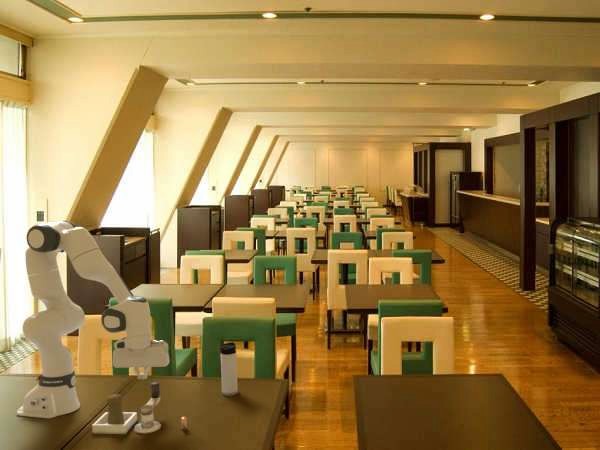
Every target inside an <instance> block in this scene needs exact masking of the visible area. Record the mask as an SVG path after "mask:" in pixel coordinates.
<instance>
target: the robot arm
mask: <svg viewBox="0 0 600 450" xmlns="http://www.w3.org/2000/svg"><path fill="white" fill-rule="evenodd" d="M26 242H27V245H28V246H29V247H28V248H27V249H26V251H25V266H26V267H25V268H26V273H27V278H28V279H27V280H28V283H29V287H30V291H31V295H32V297H33V298H35V299H36V300H39V301H40V302H42V303H43V304H44V307H45V308H46V310H42V311H39V312H35V313H34V314H32V315H30V316H28V317H26V318H25V320H24V321H23V324H22V333H23V336H24V338H25V339H26V340H27V341H28V342H30V343H32V344H34V346H35V347H36V348H37V351H38V353H39V355H40V361H41V362H40V363H41V371H42V373H41V374H39V375H38V377H36V378H35V381H36V382H38V384H37V385H35V386H34V387H33V388H32V389H31V390H30V391H28V392H27V393H26V394H25V395H24V397H23V404H22V405H21V406H20V407H19V408H18V409H17V410H16V416H20V417H21V416H22V417H29V418H30V417H31V418H41V419H53V418H56V417H59V416H62V415H66V414H70V413H73V412H75V411H77V410H79V409H80V408H81V404H80V401H79V398H78V394H77V391H76V390H77V389H76V372H75V369H74V359H73V351H72V350H71V349H70V348H69V347H67V346H65V345H64V344H63V342H62V336H64V335H68V334H70V333H73V332H76V330H78V329H80V328H82V326H84V323H85V319H86V317H85V316H86V315H85V311H84V310H83V308H82V307H81V306H80V305H78V304H76V303H74V301H72V299H71V298H70V297H69V295H68V294H67V292H66V290H65V289H64V285H63V281H62V277H61V274H60V273H61V272H60V269H59V265H58V263H57V262H58V260H57V256H58V254H59V253H65V254H66V255H67V257H68V258H69V260H70V263H71V264H72V267H73V269H74V270H75V272H76V273H77V275H78V276H80V277H81V278H83V279H84V280H85V279H86V280H90V281H95V282H99V283H101V284H103V285H105V286H106V287H107V288H108V289H109V291H110V292H111V294H112V296H113V297H114V298H115V300H116V302H117V304H115V305H112V306H110V307H107V308H106V309H104V311H102V314H101V319H100V321H101V325H102V327H103V328H104V329H105V331H106V332H108V333H112V334H113V333H114V334H115V333H116V334H117V333H120V332H125V334H126V336H125V337H121V338H119V339H118V340H117V341H116V342H114V343H113V348H114V349H113V352H112V365H113V367H114V368H115V369H116V368H117V369H120V368H123V369H124V368H133V371H134V372H135V373H136V375H137V379H138V380H146V379H148V372H149V371H150V368H161V367H163V368H164V367H167V366H168V365H169V363H170V355H169V354H170V353H169V343H168V342H166V341H165V340H153V333H152V332H153V331H152V328H151V321H152V319H151V318H152V317H151V310H150V304H149V302H148V301H149V300H148V299H147V298H145V297H144V296H140V295H134V294H133V291H132V290H131V289H130V287H128V285H127V284H126V282H125V280H124V278H123V277H122V276H121V274H120V273H119V271H118V270H117V269H116V268H115V267H114V266H113V264H111V263H110V262H109V261H108V260H107V258H106V256H104V254H103V253H102V251H101V249H100V247H99V245H98V243H97V242H96V240H95V239H94V236H93V235H92V234H91V233H90V231H89V230H88V229H87V228H85V227H84V226H83V227H82V226H78V225H77V224H76V223H74V222H72V221H69V220H55V221H54V220H53V221H51V220H50V221H49V222H48V221H47V222H43V223H42V222H41V223H37V224H35V225H33V226H31V227H30V228H29V229H28V231H27V234H26ZM140 368H143V370H144V372H141V371H140Z"/></svg>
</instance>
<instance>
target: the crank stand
mask: <svg viewBox="0 0 600 450" xmlns="http://www.w3.org/2000/svg"><path fill="white" fill-rule="evenodd" d="M139 415H140V422H139V423H137V424H135V426H134V428H133V431H134V432H135V433H137V434H141V435H146V434H148V435H149V434H153V433H156V432H157V431H159V430H161V427H162V424H161V423H160V422H159V421H156V420H154V419H155V418H154V411H153V412H152V413H151V414H148V415H142V414H141V413H140V414H139ZM187 423H188V421H187V416H181V417H180V429H181V431H182V430H183V431H185V430H187V429H188V424H187Z"/></svg>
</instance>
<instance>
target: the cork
mask: <svg viewBox="0 0 600 450" xmlns="http://www.w3.org/2000/svg"><path fill="white" fill-rule="evenodd" d="M106 403H107V405H108V411H107V412H108V424H121V425H124V423H125V422H124V416H123V412H124V411H123V407H122V403H123V397H122V395H121V394H119V393H115V394H110V395H108V396H107V399H106Z"/></svg>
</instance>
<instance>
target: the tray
mask: <svg viewBox="0 0 600 450" xmlns="http://www.w3.org/2000/svg"><path fill="white" fill-rule="evenodd" d="M108 412H109V411H106V412H104V413H103V414H102V415H100V417H99V418H98V419H97V420H96V421H95V422H94V423H92V425H91V427H92V428H91V429H92V434H96V435H100V434H102V435H108V434H109V435H126V434H127V433H128V432H129V430H130V429H131V428H133V426H134V425H136V424H135V423H137V421H138V413H137V412H134V411H133V412H132V411H131V412H126V411H123V416H124V422H125V423H124V425H121V424H108Z"/></svg>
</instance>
